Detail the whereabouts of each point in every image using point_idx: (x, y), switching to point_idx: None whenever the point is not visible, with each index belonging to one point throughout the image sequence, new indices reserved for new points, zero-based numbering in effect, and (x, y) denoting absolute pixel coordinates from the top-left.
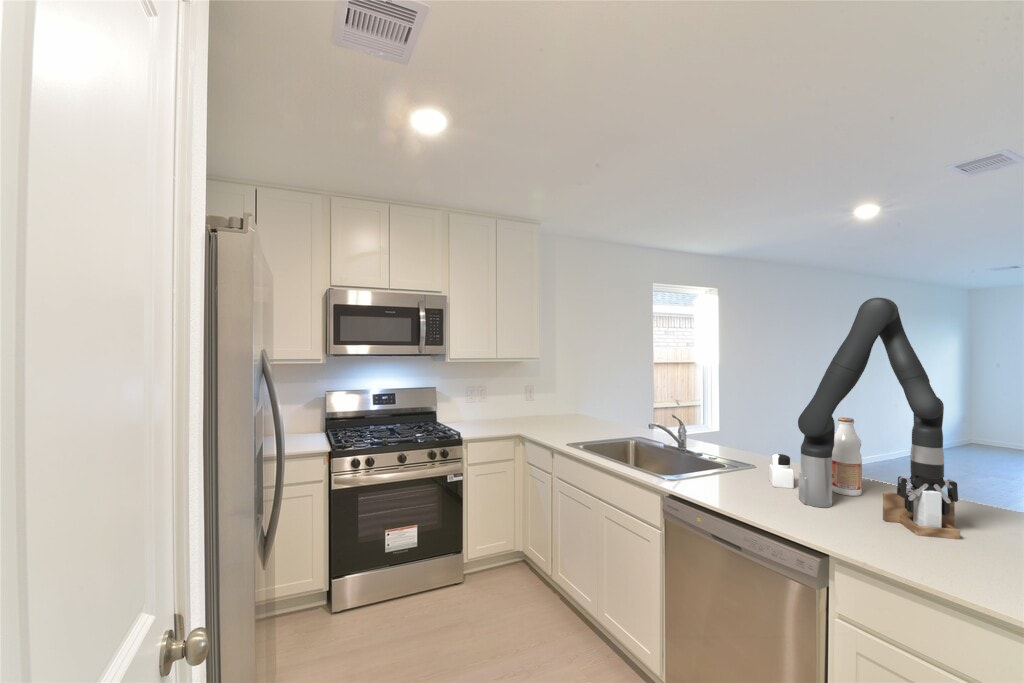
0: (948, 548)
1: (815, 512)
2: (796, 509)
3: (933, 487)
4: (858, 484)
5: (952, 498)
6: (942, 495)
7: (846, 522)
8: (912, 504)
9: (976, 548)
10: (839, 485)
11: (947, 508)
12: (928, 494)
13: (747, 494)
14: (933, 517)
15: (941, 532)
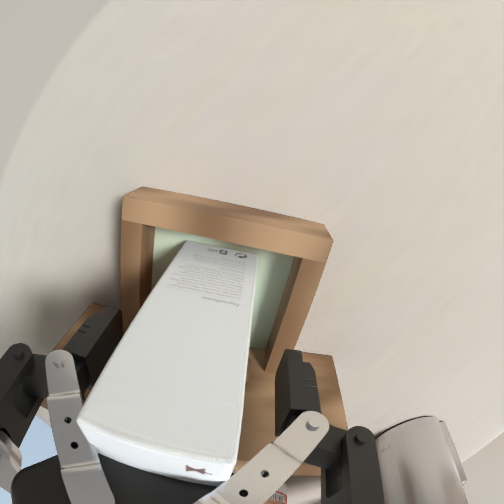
0: (291, 78)
1: (469, 384)
2: (487, 390)
3: (113, 491)
4: None
5: (28, 369)
6: (73, 405)
7: (468, 332)
8: (296, 387)
9: (148, 91)
10: (282, 498)
11: (88, 330)
12: (210, 440)
13: (484, 432)
14: (206, 287)
15: (212, 208)
